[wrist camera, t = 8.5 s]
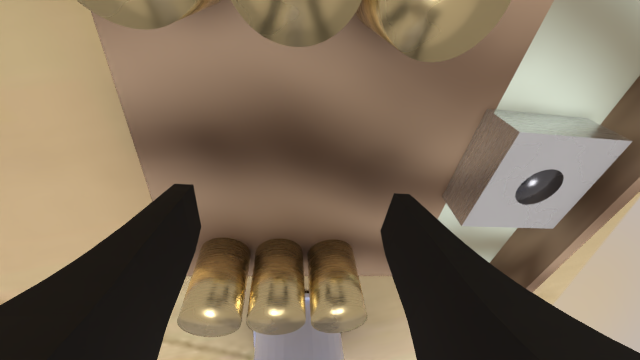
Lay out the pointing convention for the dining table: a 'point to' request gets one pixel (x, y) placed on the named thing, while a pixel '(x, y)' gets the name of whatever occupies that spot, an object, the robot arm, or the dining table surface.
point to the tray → (370, 124)
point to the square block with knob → (529, 168)
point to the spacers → (282, 254)
